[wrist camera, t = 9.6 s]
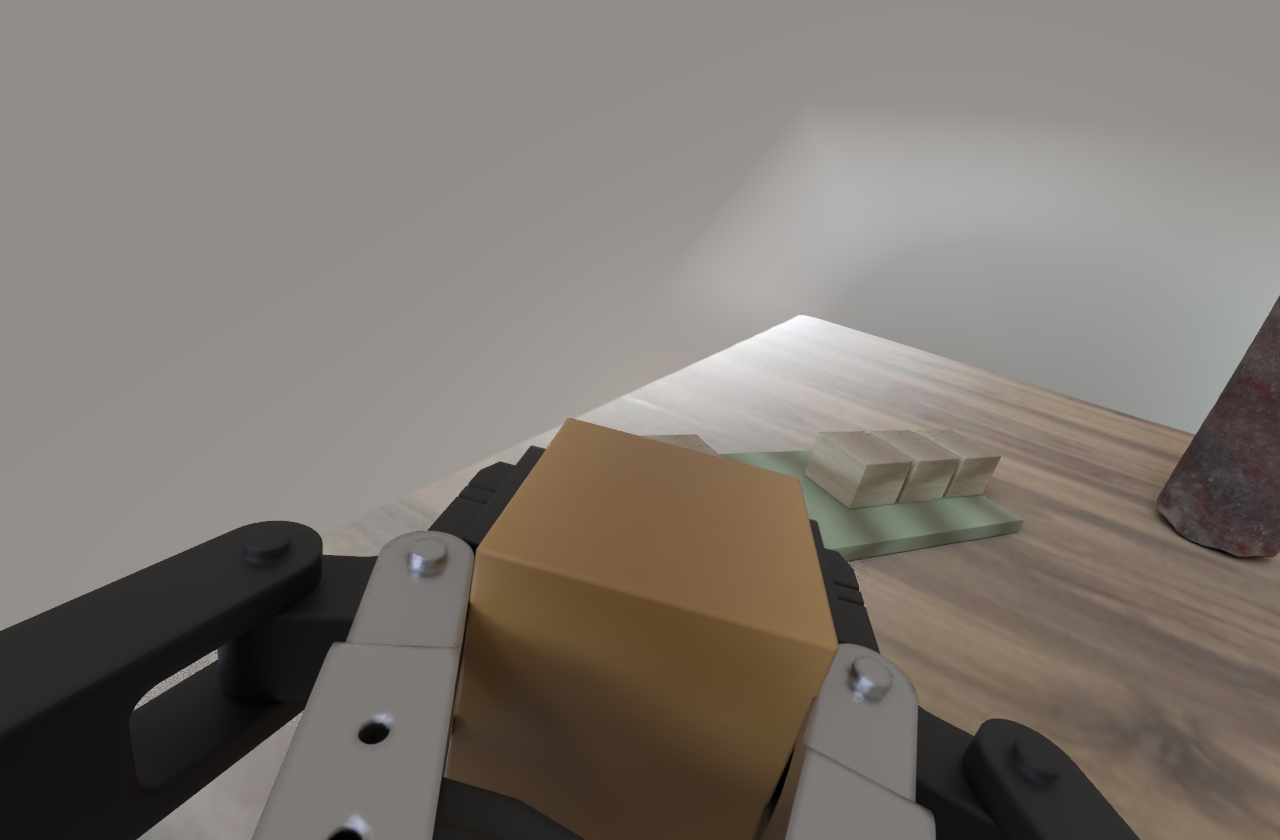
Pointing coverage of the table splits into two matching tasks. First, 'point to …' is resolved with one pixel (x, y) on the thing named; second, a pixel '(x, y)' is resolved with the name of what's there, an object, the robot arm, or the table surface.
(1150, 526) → the table surface
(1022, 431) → the table surface
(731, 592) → the brown wooden tall block
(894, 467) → the green block tray
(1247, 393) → the dark stone core sample
